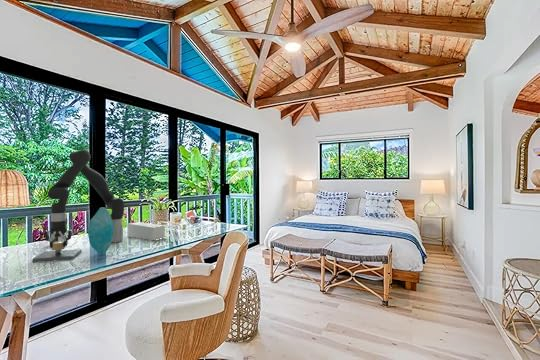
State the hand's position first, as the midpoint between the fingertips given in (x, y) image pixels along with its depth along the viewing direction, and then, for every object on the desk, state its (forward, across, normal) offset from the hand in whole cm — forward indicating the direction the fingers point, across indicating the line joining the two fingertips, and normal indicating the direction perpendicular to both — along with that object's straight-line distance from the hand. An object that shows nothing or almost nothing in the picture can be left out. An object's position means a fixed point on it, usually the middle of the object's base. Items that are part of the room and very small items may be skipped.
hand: (58, 247), depth 172 cm
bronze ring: (+1, 0, 0) cm, 1 cm away
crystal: (+6, -23, +1) cm, 24 cm away
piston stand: (+6, 0, 0) cm, 6 cm away
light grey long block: (+7, -46, -44) cm, 64 cm away
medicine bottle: (+6, +11, -36) cm, 38 cm away
